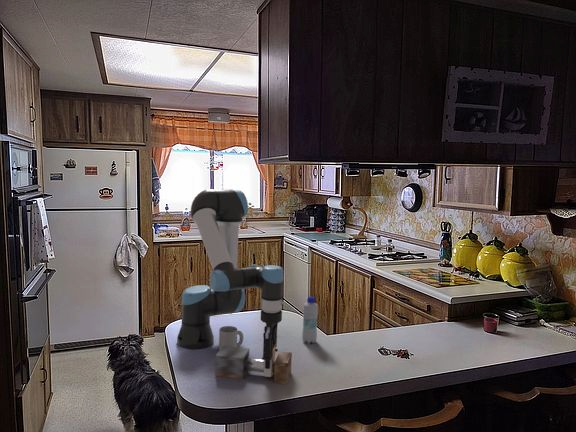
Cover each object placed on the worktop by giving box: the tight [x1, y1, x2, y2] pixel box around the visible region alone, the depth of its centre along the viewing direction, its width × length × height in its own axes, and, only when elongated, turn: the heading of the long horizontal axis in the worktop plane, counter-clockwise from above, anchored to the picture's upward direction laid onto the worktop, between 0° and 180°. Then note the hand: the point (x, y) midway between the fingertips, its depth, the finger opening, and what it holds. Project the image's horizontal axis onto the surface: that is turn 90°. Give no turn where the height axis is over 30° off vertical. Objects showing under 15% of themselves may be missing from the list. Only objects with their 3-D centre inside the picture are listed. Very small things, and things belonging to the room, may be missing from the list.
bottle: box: [302, 296, 319, 345], centre depth 187 cm, size 7×7×20 cm
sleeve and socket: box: [214, 346, 293, 385], centre depth 156 cm, size 26×9×8 cm, turn 80°
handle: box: [244, 344, 277, 376], centre depth 155 cm, size 18×5×10 cm, turn 80°
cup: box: [218, 325, 244, 352], centre depth 175 cm, size 7×10×9 cm
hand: (269, 372), depth 155 cm, fingers closed on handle, 5 cm apart
